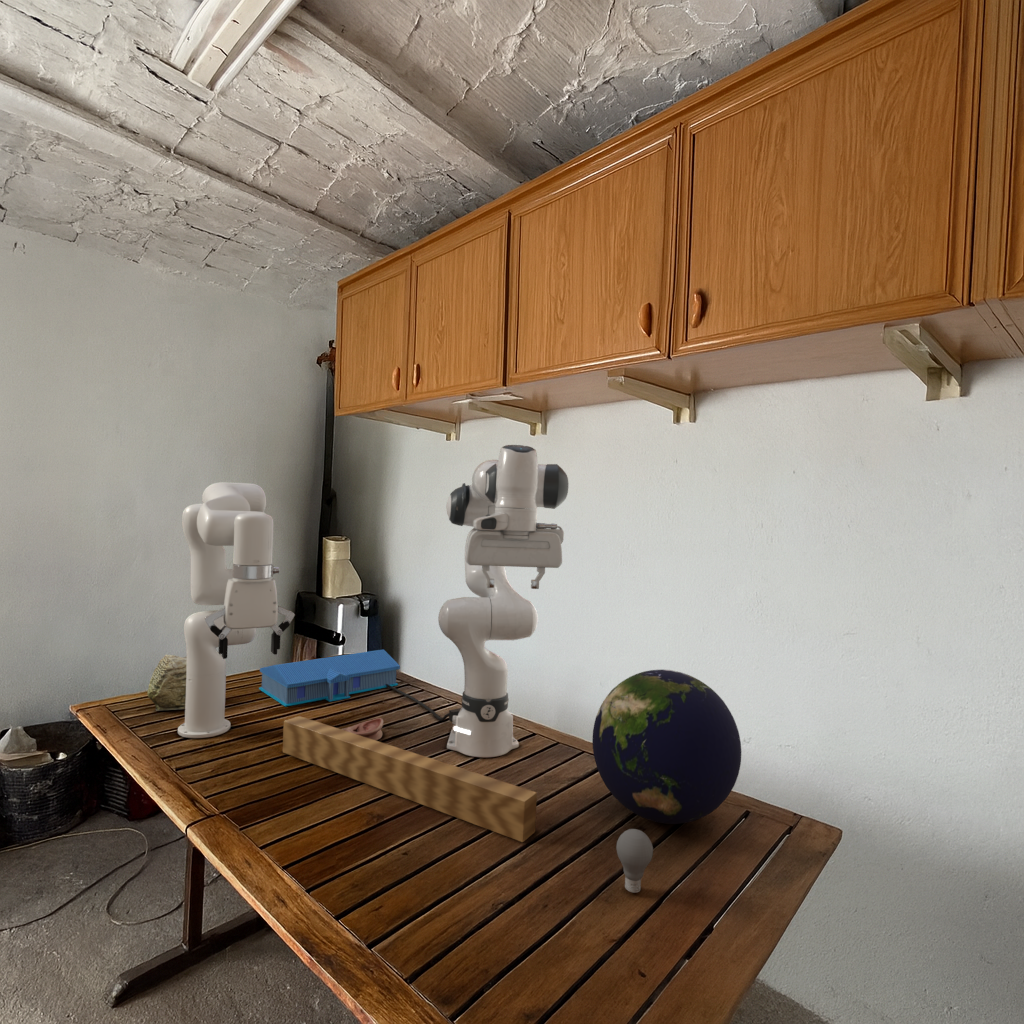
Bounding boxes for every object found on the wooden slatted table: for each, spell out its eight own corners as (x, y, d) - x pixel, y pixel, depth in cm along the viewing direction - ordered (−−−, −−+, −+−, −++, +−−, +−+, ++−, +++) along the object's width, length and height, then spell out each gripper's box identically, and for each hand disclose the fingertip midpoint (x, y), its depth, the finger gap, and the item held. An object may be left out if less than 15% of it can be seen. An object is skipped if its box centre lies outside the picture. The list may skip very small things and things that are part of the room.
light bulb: (610, 879, 108) (613, 822, 108) (644, 879, 109) (647, 822, 109) (619, 902, 102) (622, 840, 102) (655, 901, 103) (658, 840, 103)
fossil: (144, 707, 182) (145, 655, 182) (212, 696, 194) (213, 647, 194) (151, 716, 175) (153, 662, 175) (221, 703, 188) (223, 653, 188)
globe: (571, 831, 124) (578, 679, 123) (607, 773, 151) (613, 648, 151) (733, 872, 112) (742, 704, 112) (740, 800, 140) (747, 665, 139)
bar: (282, 752, 156) (283, 720, 155) (298, 746, 160) (299, 715, 159) (522, 842, 119) (524, 801, 119) (535, 831, 123) (537, 792, 123)
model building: (289, 709, 186) (291, 675, 185) (258, 688, 204) (259, 657, 204) (403, 687, 212) (405, 657, 212) (366, 670, 230) (368, 643, 230)
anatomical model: (322, 726, 163) (343, 712, 174) (321, 741, 163) (342, 726, 174) (370, 732, 160) (388, 717, 171) (370, 747, 160) (388, 732, 171)
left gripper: (291, 570, 139) (288, 647, 139) (204, 571, 130) (201, 654, 130) (299, 574, 132) (296, 655, 133) (208, 576, 123) (205, 663, 124)
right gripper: (561, 523, 137) (558, 587, 137) (466, 519, 134) (463, 584, 134) (567, 524, 131) (564, 591, 131) (468, 520, 128) (465, 588, 128)
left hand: (249, 655), depth 131 cm, fingers open, 9 cm apart
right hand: (512, 588), depth 133 cm, fingers open, 8 cm apart
